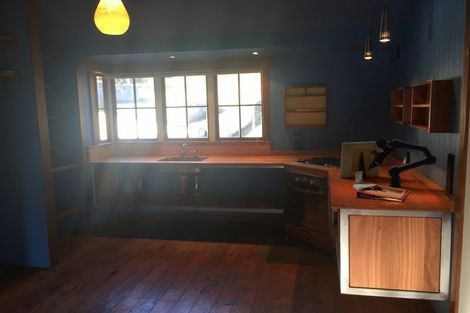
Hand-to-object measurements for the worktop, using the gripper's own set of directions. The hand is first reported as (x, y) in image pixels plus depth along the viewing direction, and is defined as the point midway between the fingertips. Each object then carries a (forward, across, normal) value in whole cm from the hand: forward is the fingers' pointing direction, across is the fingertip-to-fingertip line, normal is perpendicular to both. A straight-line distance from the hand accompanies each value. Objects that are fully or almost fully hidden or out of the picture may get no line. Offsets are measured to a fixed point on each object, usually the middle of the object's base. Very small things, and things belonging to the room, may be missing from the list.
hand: (369, 168), depth 272 cm
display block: (+11, +10, +8) cm, 16 cm away
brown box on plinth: (+14, 0, +4) cm, 15 cm away
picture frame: (+14, -33, +4) cm, 36 cm away
